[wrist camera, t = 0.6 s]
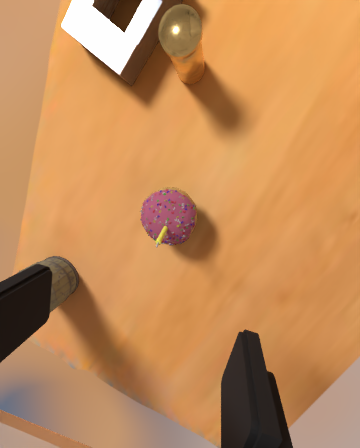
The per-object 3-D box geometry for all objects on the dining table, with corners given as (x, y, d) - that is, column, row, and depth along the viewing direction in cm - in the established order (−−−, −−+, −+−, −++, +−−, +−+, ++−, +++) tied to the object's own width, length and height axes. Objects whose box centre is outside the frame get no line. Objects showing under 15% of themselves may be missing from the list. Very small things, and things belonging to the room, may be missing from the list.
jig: (130, -59, 29) (116, -96, 25) (188, -10, 29) (183, -40, 25) (80, 43, 33) (61, 26, 29) (131, 86, 34) (119, 74, 30)
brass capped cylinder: (188, 42, 31) (175, -7, 22) (213, 63, 31) (210, 23, 22) (168, 73, 32) (150, 38, 24) (193, 93, 32) (183, 65, 24)
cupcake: (202, 233, 37) (194, 261, 26) (154, 237, 39) (127, 266, 28) (196, 182, 35) (184, 188, 24) (146, 189, 37) (112, 198, 26)
